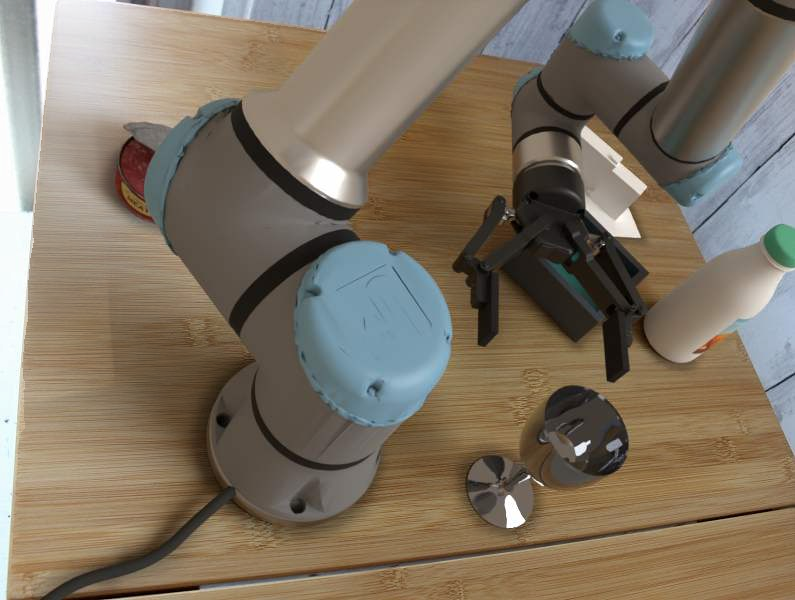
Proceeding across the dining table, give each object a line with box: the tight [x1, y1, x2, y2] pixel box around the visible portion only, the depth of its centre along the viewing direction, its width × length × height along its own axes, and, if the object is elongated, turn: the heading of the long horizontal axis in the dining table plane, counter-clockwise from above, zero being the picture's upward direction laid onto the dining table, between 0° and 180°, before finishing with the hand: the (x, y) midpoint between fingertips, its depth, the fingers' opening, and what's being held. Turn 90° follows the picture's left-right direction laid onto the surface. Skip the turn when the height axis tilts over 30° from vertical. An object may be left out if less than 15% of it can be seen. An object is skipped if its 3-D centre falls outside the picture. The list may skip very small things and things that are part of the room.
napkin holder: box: [581, 125, 648, 239], centre depth 105 cm, size 15×11×6 cm
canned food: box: [113, 121, 174, 225], centre depth 80 cm, size 11×10×10 cm
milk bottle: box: [643, 223, 795, 364], centre depth 91 cm, size 8×8×20 cm
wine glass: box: [466, 384, 630, 529], centre depth 73 cm, size 8×8×15 cm
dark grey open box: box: [502, 210, 650, 343], centre depth 96 cm, size 12×12×5 cm
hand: (554, 358), depth 76 cm, fingers open, 13 cm apart
